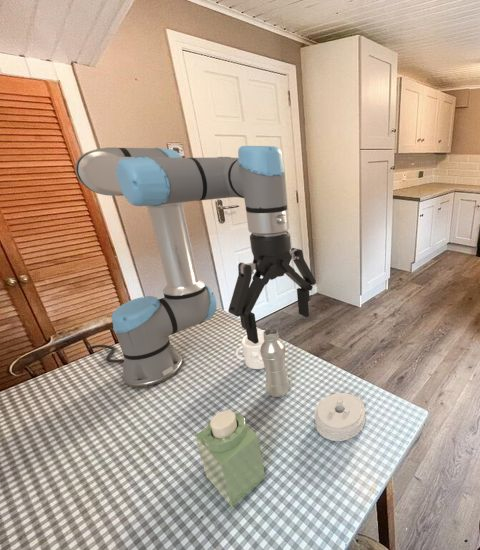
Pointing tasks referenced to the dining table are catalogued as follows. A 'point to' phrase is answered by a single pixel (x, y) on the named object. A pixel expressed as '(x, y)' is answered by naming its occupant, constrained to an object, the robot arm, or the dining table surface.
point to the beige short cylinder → (223, 424)
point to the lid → (339, 416)
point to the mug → (252, 351)
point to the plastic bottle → (274, 364)
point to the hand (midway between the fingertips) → (280, 327)
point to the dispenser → (232, 461)
